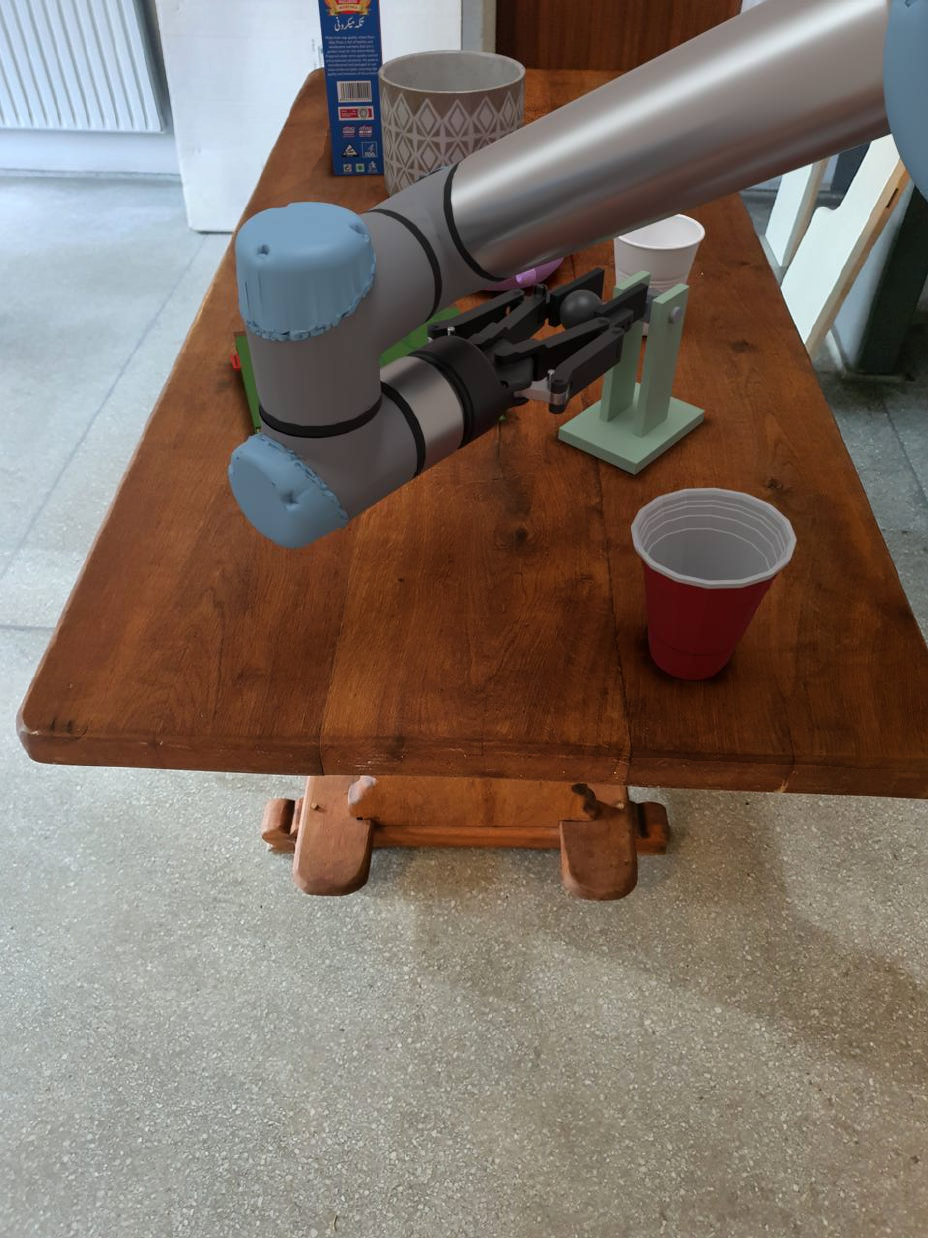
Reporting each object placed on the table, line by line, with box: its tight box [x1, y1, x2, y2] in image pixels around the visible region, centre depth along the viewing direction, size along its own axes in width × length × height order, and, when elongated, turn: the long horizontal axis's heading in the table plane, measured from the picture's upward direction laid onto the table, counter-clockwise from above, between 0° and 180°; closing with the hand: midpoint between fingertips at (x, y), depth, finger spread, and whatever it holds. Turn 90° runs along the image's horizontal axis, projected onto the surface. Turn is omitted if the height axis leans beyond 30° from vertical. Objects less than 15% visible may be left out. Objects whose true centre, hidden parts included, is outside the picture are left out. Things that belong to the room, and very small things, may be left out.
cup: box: [613, 213, 706, 337], centre depth 105 cm, size 10×10×11 cm
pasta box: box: [317, 0, 384, 176], centre depth 142 cm, size 28×8×28 cm, turn 4°
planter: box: [378, 49, 526, 198], centre depth 130 cm, size 19×19×16 cm
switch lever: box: [559, 288, 664, 331], centre depth 80 cm, size 14×4×4 cm, turn 138°
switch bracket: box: [557, 270, 706, 476], centre depth 88 cm, size 12×9×15 cm
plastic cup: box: [630, 487, 798, 681], centre depth 67 cm, size 11×11×12 cm
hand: (620, 291), depth 79 cm, fingers closed on switch lever, 4 cm apart
